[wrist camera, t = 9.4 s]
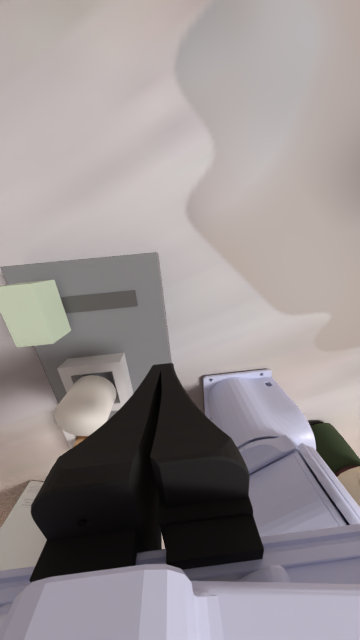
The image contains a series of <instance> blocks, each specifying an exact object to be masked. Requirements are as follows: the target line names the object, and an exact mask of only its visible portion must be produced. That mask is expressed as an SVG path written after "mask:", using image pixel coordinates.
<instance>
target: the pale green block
mask: <svg viewBox="0 0 360 640" xmlns="http://www.w3.org/2000/svg"><path fill="white" fill-rule="evenodd" d="M0 312H1V315H2V317H3V319H4V321H5V323H6V325H7V327H8V330H9V332H10V334H11V336H12V338H13V340H14V342H15V345H16V347H27V346H37V345H46V344H54V343H55V342H56V341H58V340H59V339H61V338H62V337H63V336H65V335H66V334H67V333H69V332H70V331H71V328H70V325H69V322H68V319H67V316H66V313H65V310H64V307H63V304H62V301H61V298H60V295H59V292H58V289H57V286H56V283H55V280H45V281H35V282H24V283H16V284H10V285H3V286H0Z"/></svg>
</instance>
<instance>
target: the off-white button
mask: <svg viewBox="0 0 360 640" xmlns="http://www.w3.org/2000/svg"><path fill="white" fill-rule="evenodd" d="M116 395H117V392H116V389H115V387H114V385H113V384H112V383H111V382H110V381H109V380H107V379H106V378H104V377H101V376H97V375H88V376H84V377H81V378H80V379H78V380H77V381H76V382H75V383H74V385H73V386H72V387H71V388H70V390H69V391H68V392H67V394H66V395H65V396H64V398H63V399H62V400H61V401H60V403H59V404H58V405H57V407H56V408H55V410H54V419H55V422H56V424H57V425H58V426H59V427H60V428H61V429H62V430H64V431H65V432H67V433H70V434H73V435H77V436H90V435H91V434H92V433H93V432H95V431H96V430H97V429H98V428H100V427H101V426H102V425H103V424H104V423H105V422H107V420H108V417H109V415H110V412H111V409H112V407H113V404H114V402H115V399H116Z"/></svg>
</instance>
